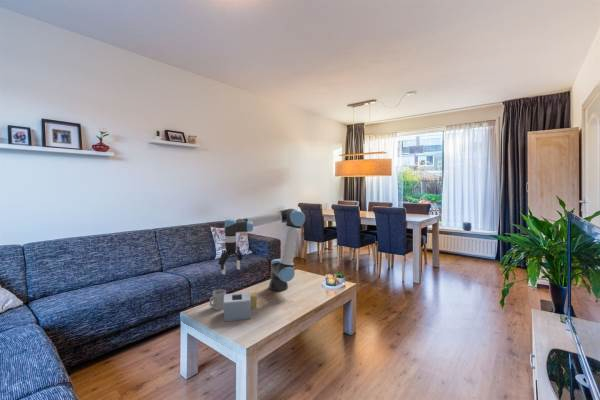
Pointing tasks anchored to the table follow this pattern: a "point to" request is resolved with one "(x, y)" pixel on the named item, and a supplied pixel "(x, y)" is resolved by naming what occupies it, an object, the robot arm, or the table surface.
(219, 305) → the mug
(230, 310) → the grey box with hole
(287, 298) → the table surface
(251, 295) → the gold rectangular block
